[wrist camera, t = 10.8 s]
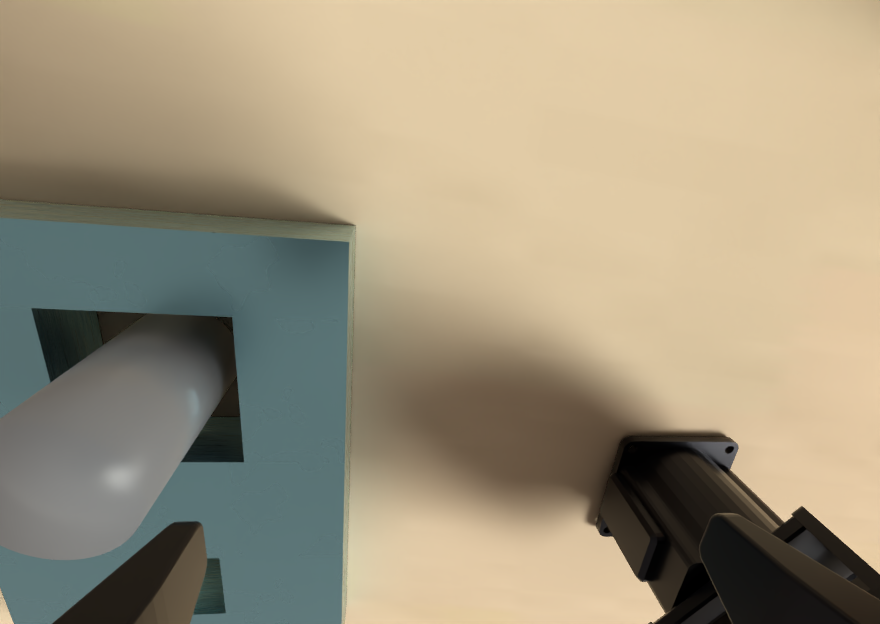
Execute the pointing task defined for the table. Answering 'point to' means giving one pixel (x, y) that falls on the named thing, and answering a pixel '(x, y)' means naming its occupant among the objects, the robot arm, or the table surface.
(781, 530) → the robot arm
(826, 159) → the table surface
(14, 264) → the plate
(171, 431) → the grey cylinder
